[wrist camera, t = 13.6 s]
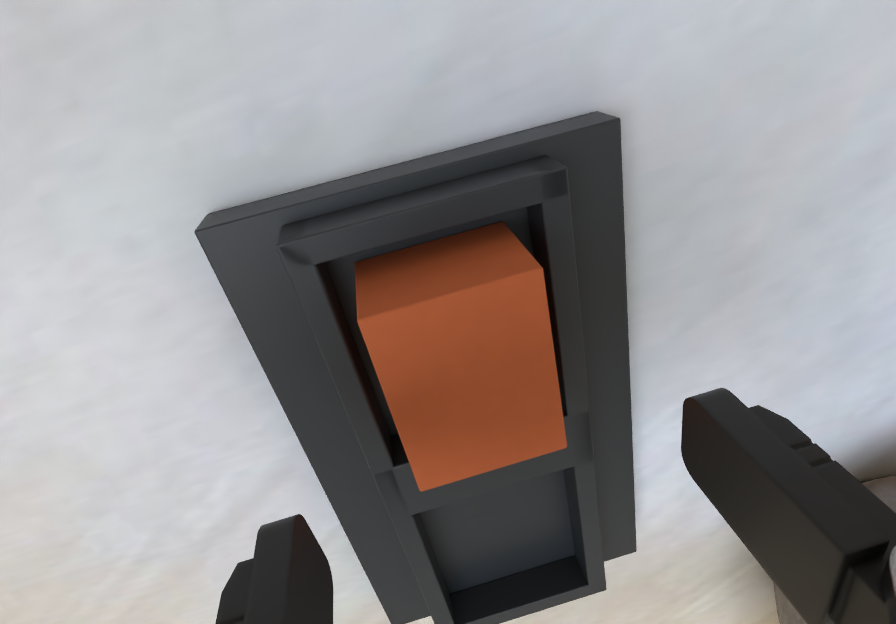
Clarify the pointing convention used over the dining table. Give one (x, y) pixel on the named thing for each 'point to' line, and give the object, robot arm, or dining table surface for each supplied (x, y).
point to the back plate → (364, 404)
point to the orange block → (463, 352)
